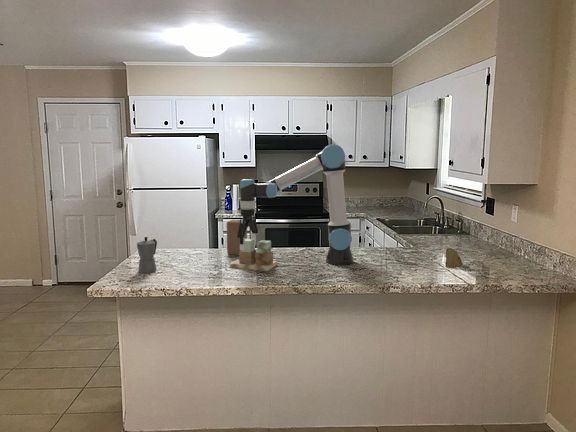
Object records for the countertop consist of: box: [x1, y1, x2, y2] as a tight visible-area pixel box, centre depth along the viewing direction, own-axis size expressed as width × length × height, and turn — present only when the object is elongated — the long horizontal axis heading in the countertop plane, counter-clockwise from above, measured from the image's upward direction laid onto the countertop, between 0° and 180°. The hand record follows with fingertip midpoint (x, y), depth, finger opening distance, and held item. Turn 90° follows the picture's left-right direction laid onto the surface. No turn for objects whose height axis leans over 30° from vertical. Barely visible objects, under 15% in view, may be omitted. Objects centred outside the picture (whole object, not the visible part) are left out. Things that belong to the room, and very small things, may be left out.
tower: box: [256, 239, 274, 266], centre depth 236 cm, size 7×7×12 cm
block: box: [226, 219, 248, 256], centre depth 268 cm, size 10×10×20 cm
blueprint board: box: [229, 258, 278, 272], centre depth 239 cm, size 22×13×2 cm, turn 69°
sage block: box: [241, 238, 256, 252], centre depth 239 cm, size 6×6×6 cm
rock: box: [444, 247, 463, 269], centre depth 237 cm, size 11×9×10 cm
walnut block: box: [238, 249, 257, 264], centre depth 240 cm, size 7×7×6 cm
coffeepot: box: [136, 236, 158, 274], centre depth 230 cm, size 15×9×18 cm, turn 162°
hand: (248, 247), depth 239 cm, fingers open, 13 cm apart
